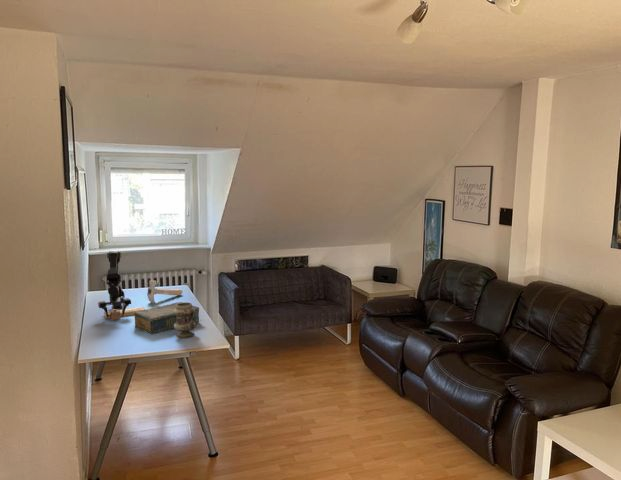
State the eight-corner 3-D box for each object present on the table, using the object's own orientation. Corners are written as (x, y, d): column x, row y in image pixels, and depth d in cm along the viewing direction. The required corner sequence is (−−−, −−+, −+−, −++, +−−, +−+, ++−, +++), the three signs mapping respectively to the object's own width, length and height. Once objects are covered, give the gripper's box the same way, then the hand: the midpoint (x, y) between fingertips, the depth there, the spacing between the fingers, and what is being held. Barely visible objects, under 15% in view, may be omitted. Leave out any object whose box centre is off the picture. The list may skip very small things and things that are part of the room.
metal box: (200, 323, 296) (200, 307, 295) (151, 335, 273) (150, 318, 272) (182, 316, 311) (181, 301, 310) (133, 327, 288) (132, 311, 287)
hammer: (179, 281, 369) (148, 279, 343) (184, 282, 366) (153, 280, 341) (176, 302, 368) (145, 302, 342) (181, 303, 365) (150, 303, 339)
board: (104, 316, 312) (104, 312, 311) (143, 310, 324) (142, 306, 324) (106, 318, 306) (105, 314, 306) (145, 313, 318) (145, 309, 318)
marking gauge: (109, 316, 311) (108, 307, 310) (117, 315, 313) (117, 306, 312) (112, 320, 302) (111, 311, 302) (120, 319, 305) (120, 310, 304)
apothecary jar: (186, 330, 281) (185, 300, 279) (200, 334, 274) (199, 303, 272) (169, 336, 271) (168, 304, 269) (184, 340, 264) (182, 307, 262)
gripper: (100, 296, 292) (101, 321, 294) (132, 292, 302) (133, 317, 304) (97, 292, 302) (98, 317, 304) (128, 289, 311) (129, 313, 313)
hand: (115, 316), depth 306 cm, fingers open, 9 cm apart
